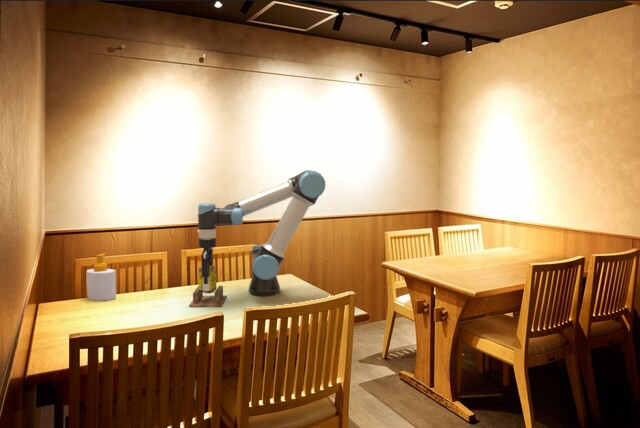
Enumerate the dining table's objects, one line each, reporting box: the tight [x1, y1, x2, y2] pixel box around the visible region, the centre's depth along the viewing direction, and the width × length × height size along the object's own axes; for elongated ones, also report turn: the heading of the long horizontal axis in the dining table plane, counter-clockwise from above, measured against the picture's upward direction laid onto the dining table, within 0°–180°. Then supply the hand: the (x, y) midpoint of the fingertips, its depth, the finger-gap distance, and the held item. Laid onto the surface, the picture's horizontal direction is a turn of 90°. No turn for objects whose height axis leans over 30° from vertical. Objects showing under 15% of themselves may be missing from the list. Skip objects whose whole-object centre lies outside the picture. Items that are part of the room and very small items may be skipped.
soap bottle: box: [86, 253, 117, 302], centre depth 215 cm, size 13×8×20 cm, turn 81°
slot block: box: [189, 285, 228, 308], centre depth 211 cm, size 14×14×6 cm
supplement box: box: [198, 265, 217, 293], centre depth 210 cm, size 6×6×11 cm
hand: (208, 288), depth 211 cm, fingers closed on supplement box, 7 cm apart
